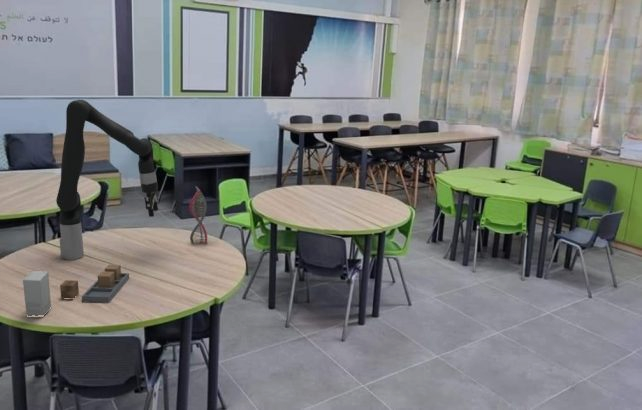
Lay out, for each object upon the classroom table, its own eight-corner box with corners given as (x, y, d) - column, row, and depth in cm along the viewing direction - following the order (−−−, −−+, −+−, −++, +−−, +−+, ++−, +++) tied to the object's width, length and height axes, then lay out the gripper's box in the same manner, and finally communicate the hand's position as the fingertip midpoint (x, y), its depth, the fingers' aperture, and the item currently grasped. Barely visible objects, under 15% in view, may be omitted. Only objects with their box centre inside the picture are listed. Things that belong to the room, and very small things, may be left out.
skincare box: (35, 308, 213) (31, 270, 208) (53, 307, 213) (49, 270, 209) (25, 318, 204) (21, 279, 200) (44, 318, 205) (40, 279, 201)
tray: (82, 301, 219) (81, 285, 217) (105, 277, 243) (104, 262, 241) (109, 302, 219) (107, 286, 218) (129, 278, 243) (128, 263, 241)
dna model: (203, 246, 284) (202, 190, 276) (187, 245, 286) (185, 189, 278) (210, 241, 293) (209, 186, 285) (194, 239, 294) (193, 185, 286)
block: (61, 299, 221) (59, 285, 219) (66, 293, 226) (65, 280, 224) (73, 299, 221) (72, 285, 219) (78, 294, 226) (77, 280, 224)
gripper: (144, 177, 266) (149, 209, 272) (136, 185, 253) (142, 219, 258) (160, 176, 267) (164, 208, 272) (153, 184, 253) (158, 217, 258)
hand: (153, 213), depth 265 cm, fingers open, 8 cm apart
